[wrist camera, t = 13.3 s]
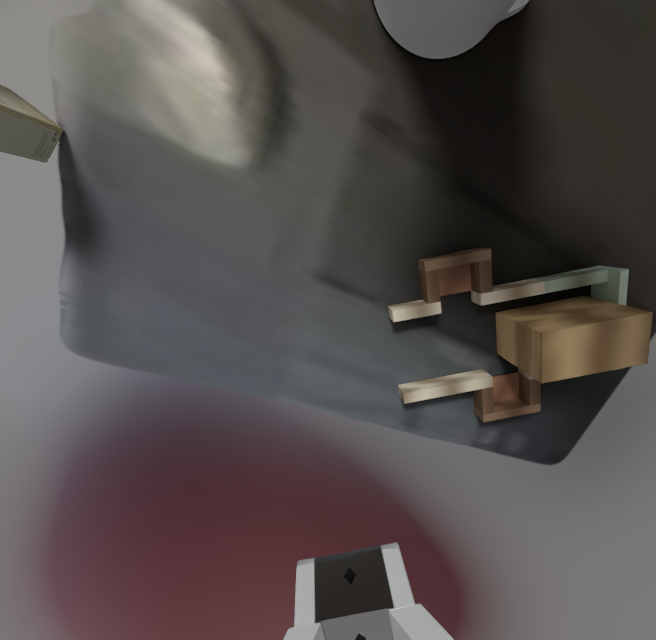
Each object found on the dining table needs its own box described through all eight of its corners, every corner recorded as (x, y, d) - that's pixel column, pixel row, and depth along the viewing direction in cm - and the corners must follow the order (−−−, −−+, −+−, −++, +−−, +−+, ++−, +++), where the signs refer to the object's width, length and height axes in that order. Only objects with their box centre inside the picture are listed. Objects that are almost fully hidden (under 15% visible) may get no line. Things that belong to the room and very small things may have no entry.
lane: (403, 426, 47) (408, 436, 44) (382, 266, 40) (386, 268, 38) (585, 391, 47) (600, 399, 44) (593, 226, 40) (611, 225, 38)
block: (496, 353, 44) (542, 383, 36) (495, 312, 43) (542, 333, 34) (581, 337, 45) (647, 363, 36) (583, 295, 43) (652, 312, 34)
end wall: (587, 358, 45) (613, 370, 41) (591, 267, 42) (620, 270, 38) (594, 357, 45) (621, 368, 41) (599, 265, 42) (628, 269, 38)
